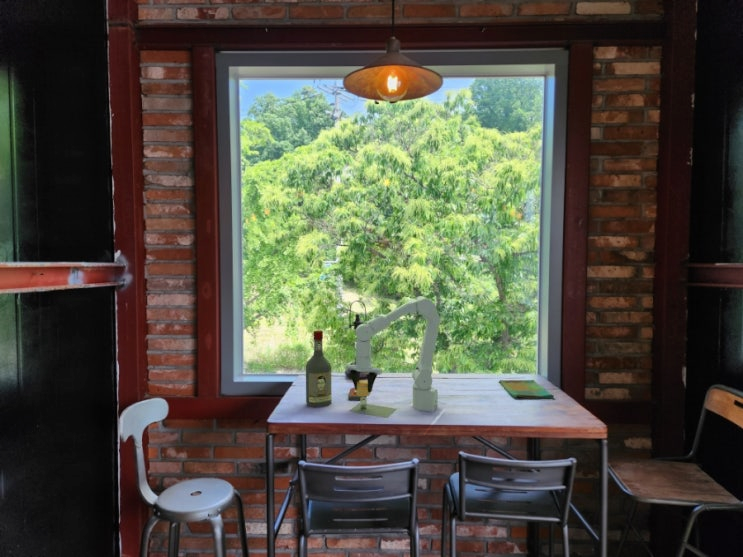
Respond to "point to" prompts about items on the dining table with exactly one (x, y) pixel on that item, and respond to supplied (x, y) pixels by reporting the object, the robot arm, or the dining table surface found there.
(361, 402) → the post
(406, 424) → the dining table surface
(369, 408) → the board
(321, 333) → the liquor
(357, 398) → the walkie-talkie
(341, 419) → the dining table surface
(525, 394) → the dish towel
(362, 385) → the cap
